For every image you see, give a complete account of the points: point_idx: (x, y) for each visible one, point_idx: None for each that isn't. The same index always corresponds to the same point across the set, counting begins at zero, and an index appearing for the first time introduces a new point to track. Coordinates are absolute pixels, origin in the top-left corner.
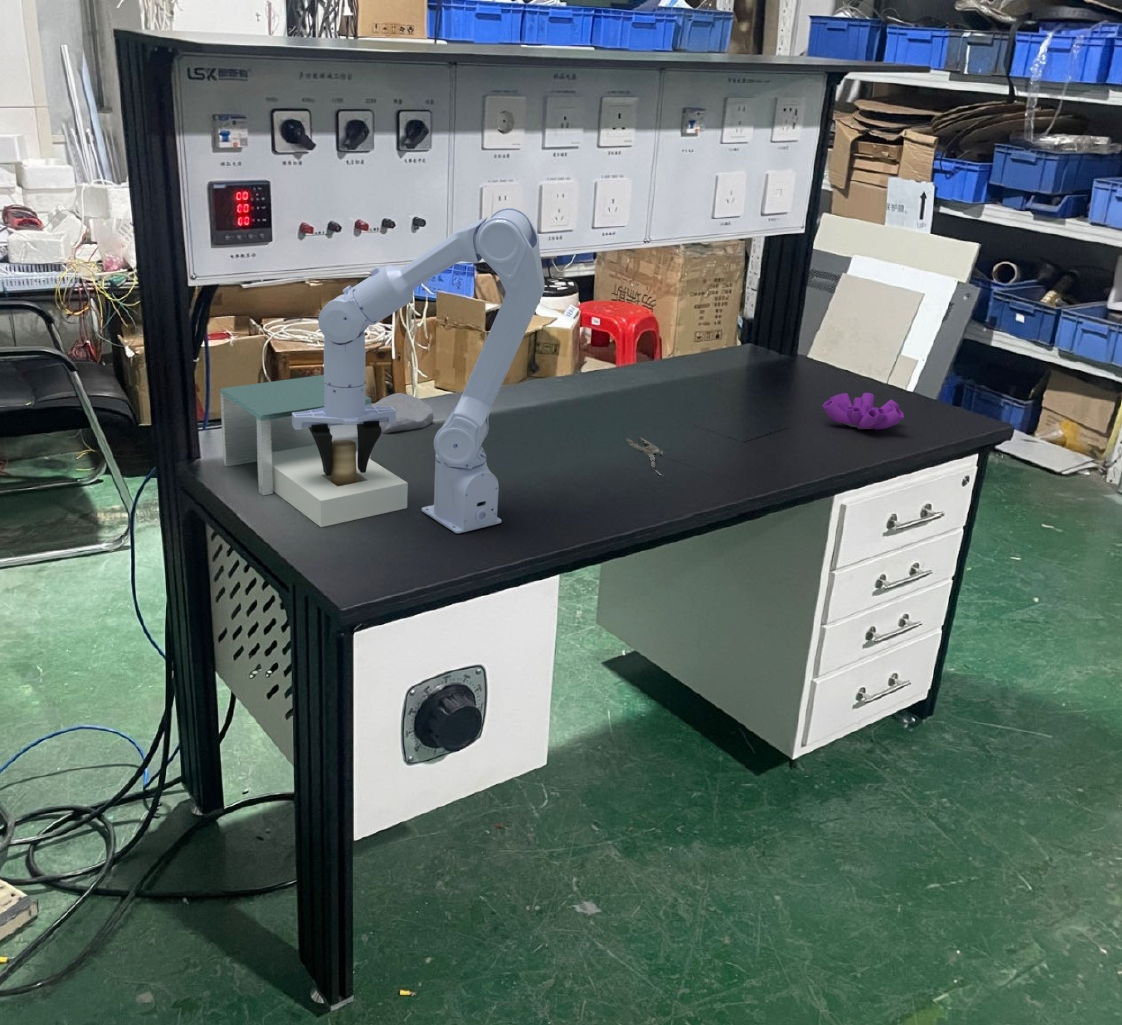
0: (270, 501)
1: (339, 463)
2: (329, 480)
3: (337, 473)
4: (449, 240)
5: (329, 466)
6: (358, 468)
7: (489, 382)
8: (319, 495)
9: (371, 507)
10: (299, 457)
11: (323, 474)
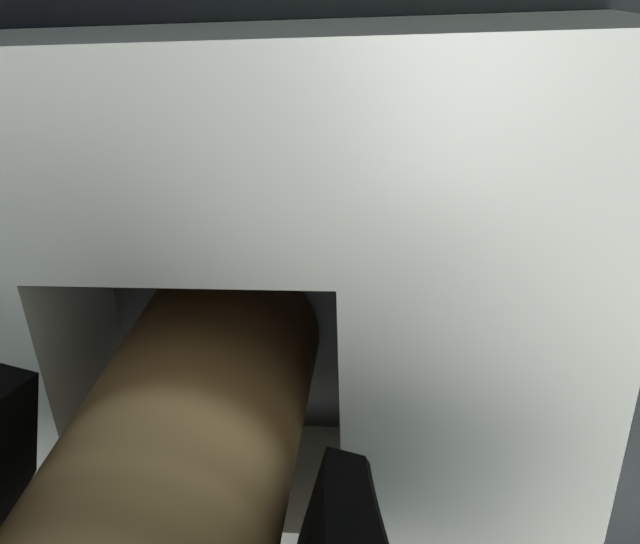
0: (616, 509)
1: (221, 514)
2: None
3: (265, 438)
4: None
5: (345, 517)
6: (33, 454)
7: None
8: (625, 177)
9: (135, 29)
10: None
11: None
